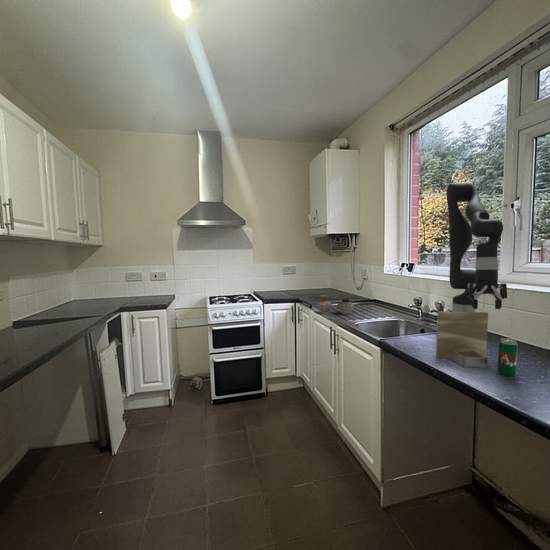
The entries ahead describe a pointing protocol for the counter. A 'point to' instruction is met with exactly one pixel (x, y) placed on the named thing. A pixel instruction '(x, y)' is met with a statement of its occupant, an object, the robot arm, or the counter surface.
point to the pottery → (343, 306)
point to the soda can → (507, 357)
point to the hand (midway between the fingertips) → (486, 308)
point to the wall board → (461, 333)
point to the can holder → (469, 359)
